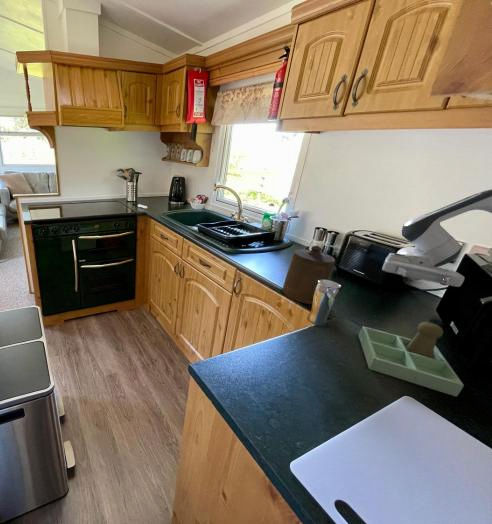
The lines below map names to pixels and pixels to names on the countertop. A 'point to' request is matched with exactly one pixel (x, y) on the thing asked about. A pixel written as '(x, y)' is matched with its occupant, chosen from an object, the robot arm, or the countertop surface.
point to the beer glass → (323, 301)
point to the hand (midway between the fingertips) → (425, 278)
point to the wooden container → (306, 273)
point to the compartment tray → (408, 362)
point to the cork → (425, 339)
